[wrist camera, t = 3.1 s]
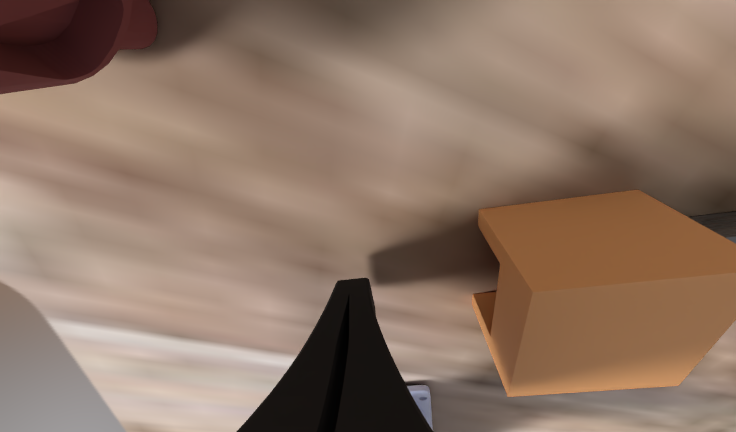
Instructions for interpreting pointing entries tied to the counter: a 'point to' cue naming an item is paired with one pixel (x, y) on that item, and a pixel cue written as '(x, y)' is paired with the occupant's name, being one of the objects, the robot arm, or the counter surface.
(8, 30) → the mechanical component
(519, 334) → the notched orange block
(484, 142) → the counter surface
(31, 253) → the counter surface
